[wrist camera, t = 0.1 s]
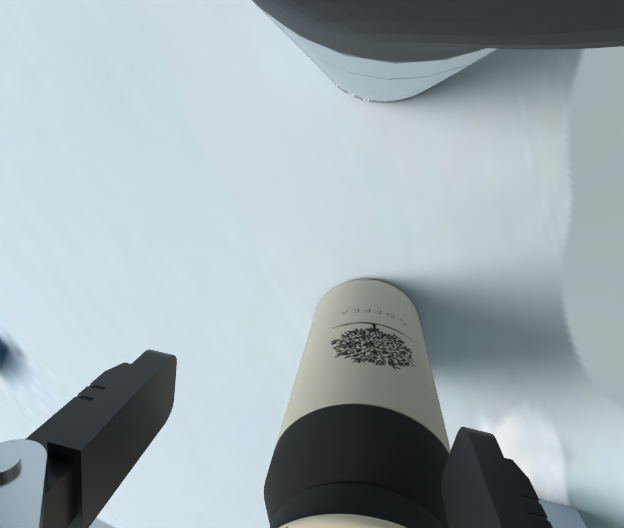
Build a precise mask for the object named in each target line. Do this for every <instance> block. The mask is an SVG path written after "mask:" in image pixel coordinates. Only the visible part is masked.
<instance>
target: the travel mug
mask: <svg viewBox="0 0 624 528" xmlns="http://www.w3.org/2000/svg"><path fill="white" fill-rule="evenodd" d="M450 452H451V450H450V446H449V441H448V437H447V433H446V429H445V425H444V420H443V416H442V412H441V408H440V404H439V400H438V395H437V391H436V387H435V383H434V379H433V374H432V370H431V366H430V362H429V358H428V353H427V349H426V345H425V341H424V337H423V333H422V328H421V324H420V320H419V316H418V313H417V310H416V308H415V306H414V305H413V303H412V302H411V300H410V299H409V298H408V297H407V296H406V295H405V294H404V293H403V292H402V291H400V290H399V289H397V288H396V287H394V286H392V285H390V284H388V283H385V282H382V281H377V280H371V279H359V280H353V281H349V282H345V283H343V284H340V285H338V286H337V287H335V288H333V289H332V290H331V291H329V292H328V293H327V294H326V295H325V296H324V297H323V299H322V300H321V301H320V303H319V304H318V307H317V309H316V312H315V315H314V318H313V321H312V325H311V328H310V332H309V335H308V338H307V342H306V345H305V349H304V352H303V355H302V359H301V362H300V365H299V369H298V372H297V376H296V379H295V382H294V386H293V389H292V393H291V396H290V399H289V403H288V406H287V409H286V413H285V416H284V420H283V423H282V426H281V430H280V433H279V437H278V440H277V443H276V447H275V450H274V453H273V457H272V460H271V464H270V467H269V470H268V474H267V477H266V481H265V486H264V500H265V505H266V509H267V514H268V518H269V523H270V528H449V526H448V521H447V517H446V512H445V507H444V503H443V498H442V491H441V483H442V474H443V470H444V467H445V465H446V462H447V459H448V457H449V454H450Z"/></svg>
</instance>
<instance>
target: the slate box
mask: <svg viewBox="0 0 624 528" xmlns="http://www.w3.org/2000/svg"><path fill="white" fill-rule="evenodd" d="M539 503H541V505H542V507H543V509H544V511H545V513H546V515H547V520H548V521H550V523H551V525H552V527H553V528H587V527H586V525H585V523H584V521H583V520H582V518H581V516H580V514H579V512H578V510H577V508H573V507H569V506H565V505H561V504H557V503H553V502H549V501H545V500H541V499H539Z"/></svg>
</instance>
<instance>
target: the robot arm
mask: <svg viewBox="0 0 624 528" xmlns="http://www.w3.org/2000/svg"><path fill="white" fill-rule="evenodd" d="M252 1H253V2H254V3H255V4H256V5H257V6H258V7H259V8H260V9H261V10H262V11H263V12H264V13H265V14H266V15H267V16H268V17H269V18H270V19H271V20H272V21H273V22H274V23H275V24H276V25H277V26H278V27H279V28H280V29H281V30H282V31H283V32H284V33H285V34H286V35H287V36H288V37H289V38H290V39H291V40H292V41H293V42H294V43H295V44H296V45H297V46H298V47H299V48H300V49H301V50H302V51H303V52H304V53H305V54H306V55H307V56H308V57H309V58H310V59H311V60H312V61H313V62H314V63H315V64H316V65H317V66H318V67H319V68H320V69H321V70H322V71H323V72H324V73H325V74H326V75H327V76H328V77H329V78H330V79H331V80H332V81H333V82H334V83H335V85H336V86H337V87H339V88H340V89H341V90H343V91H344V92H346V93H348V94H351V95H352V96H354V97H356V98H359V99H362V100H366V101H370V102H381V103H389V102H396V101H401V100H405V99H409V98H411V97H412V96H415V95H417V94H420V93H421V92H423V91H425V90H427V89H429V88H431V87H432V86H434V85H436V84H438V83H439V82H441V81H443V80H445V79H446V78H448V77H450V76H452V75H454V74H455V73H457V72H459V71H461V70H462V69H464V68H466V67H468V66H469V65H471V64H473V63H475V62H476V61H478V60H480V59H482V58H483V57H485V56H487V55H489V54H490V53H492V52H494V51H496V50H497V49H582V48H602V47H617V46H624V0H252ZM176 365H177V359H176V356H174V355H171V354H167V353H162V352H158V351H154V350H150V349H149V350H147V351H145V352H144V353H143V354H142V355H141V356H140V357H139V358H138V359H136V360H135V361H134V362H133V363H132V364H128V363H122V364H120V365H118V366H116V367H113V368H111V369H109V370H107V371H105V372H104V373H102V374H101V375H100V376H99V377H98V378H97V379H95V380H94V381H93V382H92V383H91V384H90V386H89V387H88V386H87V387H86V388H85V389H84V390H83V391H81V392H80V393H79V394H78V396H77V397H74V398H73V399H72V400H71V401H70V402H68V403H67V404H66V405H65V406H64V407H63V408H61V409H60V410H59V411H58V412H57V413H56V414H54V415H53V416H52V417H51V418H50V419H49V420H47V421H46V422H45V423H44V424H43V425H41V426H40V427H39V428H38V429H37V430H36V431H34V432H33V433H32V434H31V435H30V436H29V437H27V438H26V439H25V440H24V439H21V440H11V441H6V442H2V443H0V528H89V526H90V525H91V524H92V522H93V521H94V519H95V518H96V517H97V515H98V514H99V513H100V511H101V510H102V509H103V507H104V506H105V504H106V503H107V502H108V500H109V499H110V498H111V496H112V495H113V494H114V492H115V491H116V489H117V488H118V487H119V485H120V484H121V483H122V481H123V480H124V479H125V477H126V476H127V475H128V473H129V472H130V470H131V469H132V468H133V466H134V465H135V464H136V462H137V461H138V460H139V458H140V457H141V455H142V454H143V453H144V451H145V450H146V449H147V447H148V446H149V445H150V443H151V442H152V440H153V439H154V438H155V436H156V435H157V434H158V432H159V431H160V430H161V428H162V427H163V425H164V424H165V423H166V421H167V419H168V417H169V415H170V413H171V410H172V407H173V402H174V393H175V379H176ZM441 491H442V498H443V503H444V507H445V512H446V517H447V521H448V526H449V528H553V527H552V525H551V523H550V521H548V520H547V515H546V513H545V511H544V509H543V507H542V505H541V503H539V498H538V496H537V494H536V492H535V490H534V488H533V486H532V484H531V482H530V480H529V478H528V477H527V476H526V475H525V474H524V473H523V472H522V470H521V469H520V468H519V467H518V466H517V465H516V464H515V462H514V461H513V460H511V459H507V458H504V456H503V454H502V452H501V450H500V447H499V445H498V443H497V441H496V438H495V437H494V435H493V434H491V433H486V432H482V431H478V430H474V429H470V428H466V427H461V428H460V429H459V431H458V433H457V436H456V438H455V441H454V444H453V446H452V449H451V452H450V454H449V457H448V459H447V462H446V465H445V467H444V470H443V474H442V483H441Z"/></svg>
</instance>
